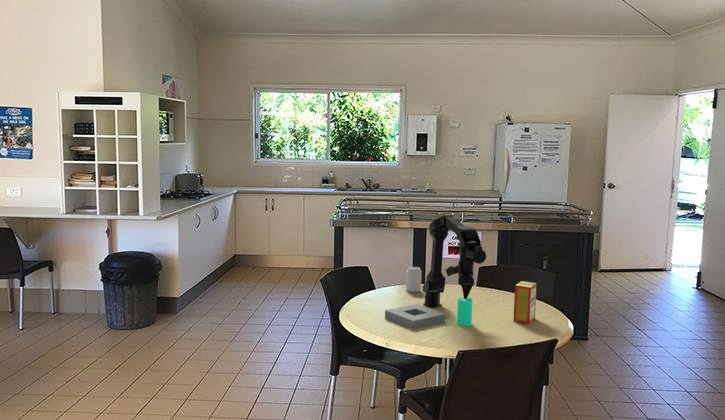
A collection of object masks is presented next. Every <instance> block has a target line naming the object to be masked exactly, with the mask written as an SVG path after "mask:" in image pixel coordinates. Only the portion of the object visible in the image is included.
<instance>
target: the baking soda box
mask: <svg viewBox="0 0 725 420" xmlns="http://www.w3.org/2000/svg"><path fill="white" fill-rule="evenodd" d="M537 284H538V283H537V282H530V281H522V280H521V281H520V282H518V283H517V284H515V285H514V299H513V303H514V304H513V322H514V323H520V324H524V325H525V324H526V325H530V324H531V323H532V322H533V321H534V320H535V319H536V310H537V309H536V306H537V304H536V303H537V290H538V289H537Z"/></svg>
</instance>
